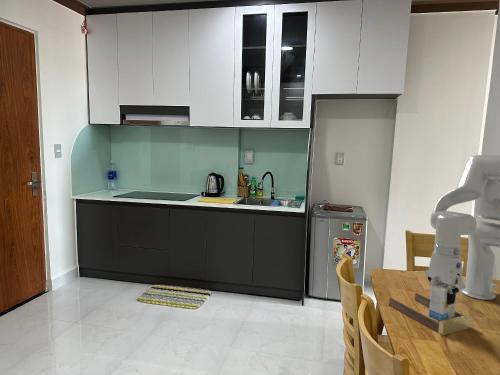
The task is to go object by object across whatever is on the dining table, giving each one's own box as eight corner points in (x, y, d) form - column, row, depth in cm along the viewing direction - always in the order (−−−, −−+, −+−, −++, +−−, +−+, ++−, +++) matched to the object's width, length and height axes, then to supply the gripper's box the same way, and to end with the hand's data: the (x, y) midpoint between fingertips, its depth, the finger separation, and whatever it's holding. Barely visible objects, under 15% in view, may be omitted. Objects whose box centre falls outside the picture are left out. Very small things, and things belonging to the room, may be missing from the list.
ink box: (442, 323, 118) (445, 281, 117) (428, 317, 122) (431, 277, 121) (455, 316, 123) (458, 276, 121) (440, 311, 127) (443, 272, 125)
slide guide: (415, 299, 141) (416, 290, 140) (471, 327, 119) (472, 316, 119) (389, 305, 135) (389, 295, 135) (442, 335, 114) (443, 323, 113)
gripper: (478, 256, 113) (473, 309, 115) (432, 243, 129) (429, 289, 131) (462, 258, 110) (457, 312, 112) (418, 244, 126) (414, 292, 128)
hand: (442, 299), depth 122 cm, fingers closed on ink box, 5 cm apart
